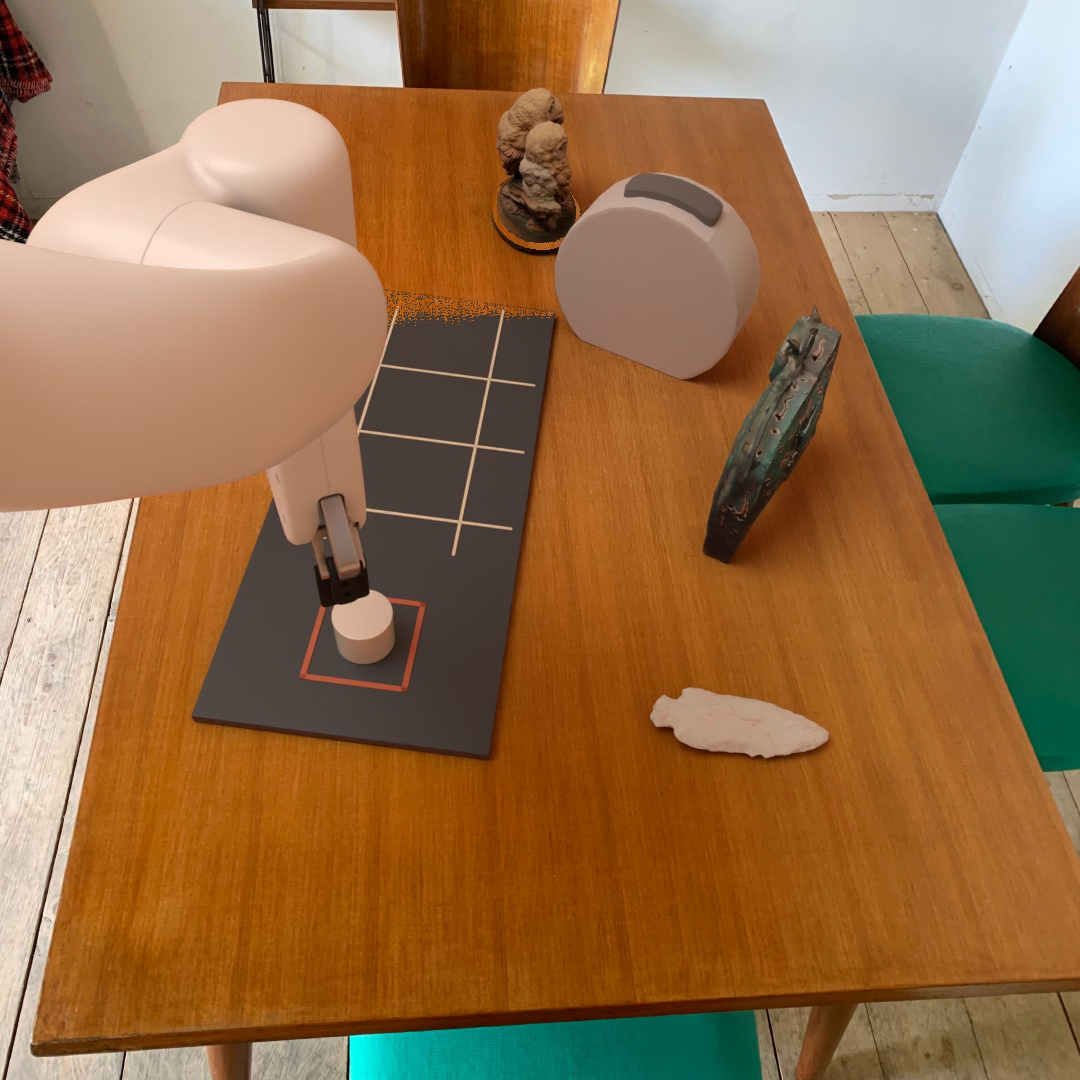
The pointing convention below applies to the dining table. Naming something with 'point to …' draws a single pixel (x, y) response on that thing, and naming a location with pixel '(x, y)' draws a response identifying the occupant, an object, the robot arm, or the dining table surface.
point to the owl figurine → (535, 171)
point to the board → (404, 551)
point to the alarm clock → (659, 274)
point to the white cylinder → (364, 628)
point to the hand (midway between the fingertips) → (326, 543)
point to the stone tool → (736, 724)
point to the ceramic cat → (773, 433)
